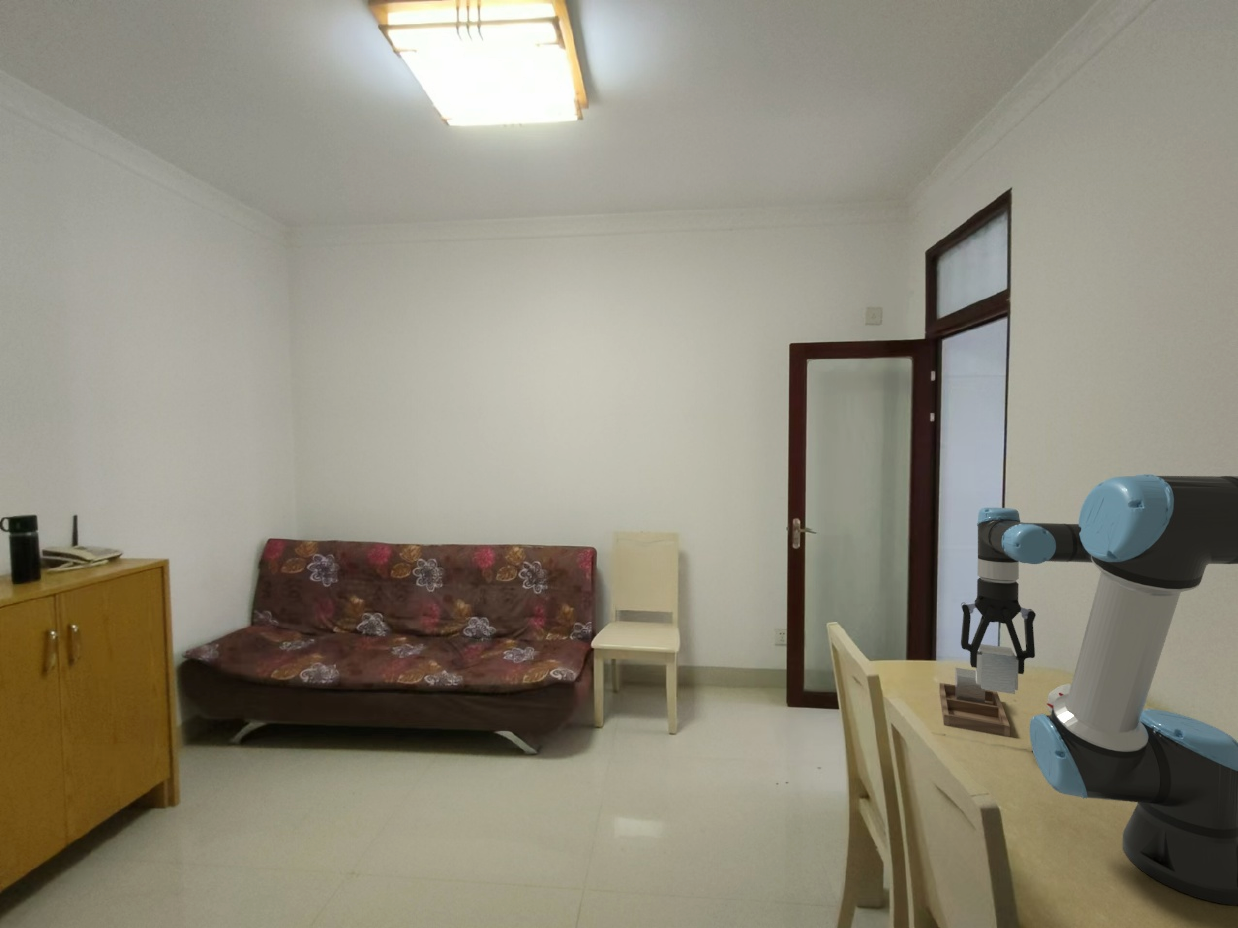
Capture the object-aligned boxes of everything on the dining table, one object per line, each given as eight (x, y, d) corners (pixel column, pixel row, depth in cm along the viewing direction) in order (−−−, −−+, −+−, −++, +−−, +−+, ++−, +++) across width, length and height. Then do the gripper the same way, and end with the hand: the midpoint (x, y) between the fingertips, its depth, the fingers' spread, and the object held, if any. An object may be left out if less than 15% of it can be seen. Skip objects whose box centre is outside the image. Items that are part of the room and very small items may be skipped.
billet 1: (984, 711, 144) (985, 679, 144) (956, 706, 147) (957, 675, 147) (982, 702, 150) (982, 671, 149) (955, 697, 152) (955, 667, 152)
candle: (1083, 710, 146) (1121, 747, 132) (1033, 706, 148) (1065, 741, 134) (1087, 676, 145) (1125, 710, 130) (1036, 672, 147) (1068, 705, 132)
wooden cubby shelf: (1009, 741, 132) (1009, 726, 131) (943, 729, 137) (943, 714, 137) (996, 704, 150) (996, 691, 150) (939, 695, 156) (939, 682, 156)
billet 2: (1015, 694, 123) (1015, 656, 123) (981, 688, 125) (982, 652, 125) (1010, 683, 128) (1011, 647, 128) (978, 679, 131) (979, 643, 131)
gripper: (1047, 580, 126) (1045, 686, 126) (946, 572, 134) (945, 671, 134) (1055, 587, 119) (1053, 699, 119) (948, 578, 127) (947, 683, 128)
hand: (996, 684), depth 127 cm, fingers closed on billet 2, 6 cm apart
